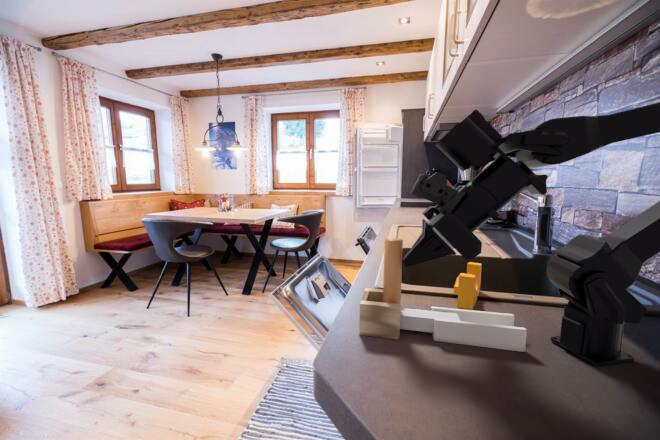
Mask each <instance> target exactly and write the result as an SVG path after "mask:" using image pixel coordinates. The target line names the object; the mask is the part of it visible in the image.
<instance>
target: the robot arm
mask: <svg viewBox="0 0 660 440" xmlns="http://www.w3.org/2000/svg"><path fill="white" fill-rule="evenodd" d="M659 133H660V101H659V102H656V103H651V104H647V105H642V106H639V107H635V108H631V109H626V110H622V111H619V112H614V113H611V114H604V115H578V116H577V115H576V116H566V117H557V118H551V119H550V118H549V119H548V120H545V121H543V122H541V123H538V124H537V125H535V126H532V127H530V128H529V129H526V130H524V131H520V132H515V131H514V132H513V131H512V132H510V133H508V134H506V135H504V136H503V135H502V134H501V133H500V132H499V131H498V130H496V128H494V127H493V125H491V124H490V123H489V122H488V121H487V119H485V117H484V115H483V114H482V113H481V112H480V111H479V110H478V109H474V110H473V111H471V113H469V114H468V115H467V116H466V117H464V119H463V120H462V121H460V122H457V123H456V124H455V125H454V126H453V127H452V128H451V129H450V130H449V131H448V132H447V133H446V134H445V135H444V136H443V137H442V138H440V140H439V141H437V143H436V144H435V147H437V148H438V149H439V150H440V151H441V152H442V153H443V154H444V155H445V156H446V157H448V159H449V160H450V161H452V163H453V164H454V165H455V166H456V167H457V168H458V169H459V170H460V171H461V172H465V171H467V170H469V169H470V170H471V171H472V172H473V173H474V172H476V171H478V170H479V169H481V168H482V167H483V166H485V165H486V164H487V163H488V162H489V161H491V159H493V158H494V160H493V161H491V163H490V164H488V165H487V166H486V167H485V168H484V169H483V170H481V171H480V172H479V173H478V174H477V175H476V176H475V177H474V178H472V179H471V180H470V181H469V182H467V184H465V185H458V186H457V187H456V188H453V187H452V186H450V185H448V176H447V175H445V174H443V173H440V172H438V171H437V172H435V173H433V174H432V175H431V176H427V175H426V174H423V173H421V174H418V177H417V179H416V180H415V183H414V184H413V186H412V188H411V190H410V192H409V193H410V194H411V195H414V196H416V197H418V198H422V199H425V200H427V201H430V202H431V203H432V204H433V203H434V204H435V206H433V205H432V206H431V205H430V206H428V207H427V208H426V209H425V210H424V211H423V212H422V213H421V214H422V215H423V216H424V217H425V218H426V219H427V221H426V220H425V218H422V220H421V225H422V226H421V229H422V231H421V233H420V235H419V236H418V238H417V239H416V241H415V242H414V243H413V245H412V246H411V247H410V249H409V251H407V253H406V254H405V255H404V257H402V265H404V267H406V268H408V267H412V266H415V265H419V264H421V263H427V262H429V261H433V260H437V259H441V258H444V257H448V256H456V255H457V252H458V253H459V254H460V256H462V257H463V259H465V261H466V262H467V263H468V262H472V261H473V260H474V259H475V258H477V257H478V256H479V255H480V254H482V246H483V243H482V240H481V239H480V238H479V237H477V236H476V234H475V233H474V232H475V231H476V230H478V229H479V228H480V227H482V226H483V225H484V224H486V222H488V220H492V221H495V220H496V219H497V218H499V217H500V216H501V214H499V213H498V212H500V211H501V210H502V209H503V208H504V207H506V206H507V205H508V204H509V203H511V202H512V201H513V200H514V199H516V198H517V196H519V195H521V193H523V192H524V191H525V190H526V191H527V192H528V193H530V194H531V195H541V196H543V195H547V193H548V188H547V180H548V177H549V176H548V175H547V174H536V173H535V172H534V171H533V170H532V168H540V167H541V168H542V167H548V166H554V165H560V164H563V163H567V162H569V161H572V160H574V159H577V158H580V157H582V156H586V155H588V154H590V153H593V152H594V151H596V150H599V149H601V148H603V147H605V146H608V145H611V144H613V143H618V142H622V141H627V140H631V139H636V138H640V137H646V136H649V135H654V134H659ZM513 159H516V160H517V161H515V160H513ZM454 249H455V250H456V251H457V252H456V251H455V250H454ZM552 253H554V255H552V257H550V259H549V260H547V262H546V265H547V266H546V275H547V278H548V280H549V281H550V283H552V284H553V285H554V286H555V287H556V289H557V293H558V295H559V296H560V297H562V298H564V299H566V300H567V303H566V304H564V305H563V306H564V307H563V316H561V325H560V335H554V336H550V341H552V343H555V344H557V345H558V346H560V347H562V348H563V349H566V350H567V351H569V352H571V353H572V354H574V355H576V356H578V357H579V358H581V359H583V360H585V361H586V362H588V363H590V364H592V365H595V366H605V365H612V364H619V363H620V364H621V363H626V362H627V363H629V362H634V361H635V356H634V355H633V354H630V353H628V352H626V351H624V350H622V344H623V337H624V329H625V324H627V323H628V324H639V323H640V321H641V320H642V318H643V317H644V315H645V313H646V312H647V307H646V306H645V305H643V303H642V302H641V301H640V300H638V299H637V297H635V296H634V295H633V294H632V293H631V292H630V291H629V288H630V287H632V286H633V285H634V284H635V283H636V281H637V278H638V276H639V274H640V272H641V270H642V267H643V265H644V264H645V263H646V262H648V260H650V259H652V258H654V257H655V256H657V255H658V254H660V200H659V201H657V202H656V203H654V204H653V205H652V206H650V207H648V208H647V209H645V210H643V211H642V212H640V213H639V214H637V215H636V216H635V217H633V218H631V220H628V221H627V222H625V223H624V224H623V225H621V226H620V227H618V228H616V229H615V230H613V231H611V232H610V233H609V234H607V235H605V236H602V237H599V238H594V237H590V236H585V235H583V234H582V235H581V234H578V235H576V236H574V237H573V238H572V239H570V240H569V241H568V243H566V244H565V245H564V246H562V247H560V248H557V249H553V250H552Z"/></svg>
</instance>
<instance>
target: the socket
mask: <svg viewBox="0 0 660 440" xmlns="http://www.w3.org/2000/svg"><path fill="white" fill-rule="evenodd" d="M358 327H359V333H358V334H359V336H364V337H365V336H366V337H373V338H382V339H388V340H389V339H390V340H396V341H399V340H400V333H401V332H400V331H401V329H400V304H394V303H384V302H383V288H382V289H381V288H372V287H371V288H370V287H365V288H364V291H363V294H362V297H361V299H360V303H359V326H358Z"/></svg>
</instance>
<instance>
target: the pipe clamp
mask: <svg viewBox="0 0 660 440" xmlns="http://www.w3.org/2000/svg"><path fill="white" fill-rule="evenodd" d="M466 266H467V267H466V273H464V272H460V274H459V275H458V276H457V277H456V280H455V284H454V285H453V292H452V294H453V293H455V294H458V297H457V304H456V305H457V309H465V310H474V307H475V305H476V302H477V300H478V298H477V295H478V291H480V292H481V284H482V283H481V282H482V281H481V280H482V268H483V267H482V266H483V265H482V263H479V262H473V261H470V262H468V261H467V264H466ZM454 289H455V290H454ZM478 296H479V295H478Z"/></svg>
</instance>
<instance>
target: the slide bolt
mask: <svg viewBox="0 0 660 440" xmlns="http://www.w3.org/2000/svg"><path fill="white" fill-rule="evenodd" d="M403 245H404V240H403V239H402V238H397V237H395V238H394V237H388V238H384V247H383V249H384V252H383V253H384V254H383V283H382V287H383V288H382V289H383V302H384V303H394V304H400V330H406V331H407V330H408V331H417V332H423V333H431V334H432V333H434V318H437V319H447V320H456V321H460V319H459V317H458V314H457V313H449V312H439V311H431V310H428V309H416V308H407V307H401V306H402V305H401V304H402V302H401V301H402V278H403V277H402V273H403V272H402V271H403V263H402V260H403V249H404V248H403Z"/></svg>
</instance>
